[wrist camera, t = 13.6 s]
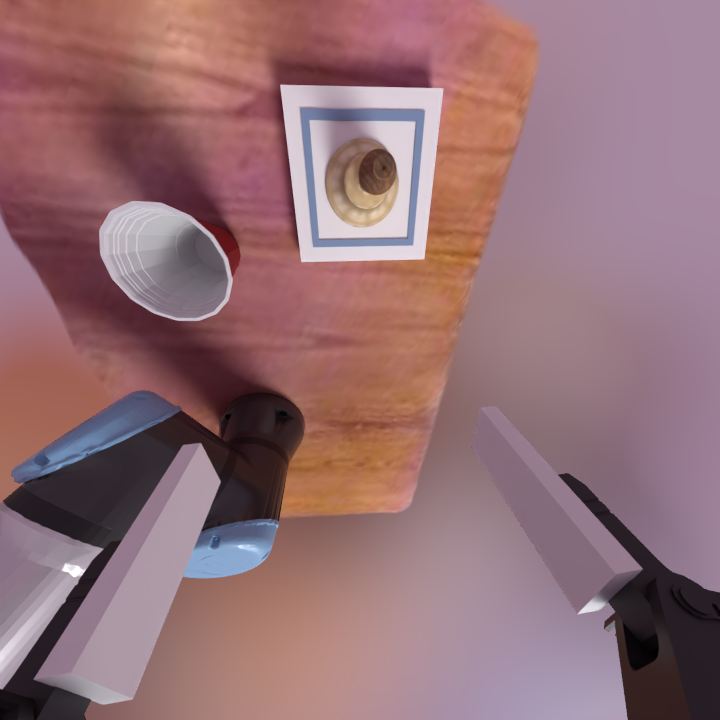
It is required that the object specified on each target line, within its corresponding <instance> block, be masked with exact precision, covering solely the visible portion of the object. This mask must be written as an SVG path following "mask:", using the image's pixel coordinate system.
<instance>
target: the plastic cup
mask: <svg viewBox="0 0 720 720" xmlns="http://www.w3.org/2000/svg"><path fill="white" fill-rule="evenodd" d="M99 239H100V255H101V257H102V259H103V262H104V264H105V266H106V268H107V270H108V272H109V274H110V276H111V278H112V279H113V281H114V282H115V283H116V284H117V285H118V286H119V287H120V288H121V289H122V290H123V291H124V292H125V293H126V294H127V296H128V297H129V298H130V299H131V300H133V301H135V302H136V303H138V304H139V305H141V306H143V307H144V308H146V309H147V310H149V311H151V312H152V313H154V314H157V315H160V316H164V317H167V318H170V319H173V320H176V321H200V320H202V319H205V318H207V317H210V316H212V315H215V314H217V313H218V312H219V311H220V310H221V308H222V307H223V306H224V305H225V304H226V303H227V302H228V300H229V296H230V292H231V287H232V283H233V279H232V277H233V275H234V273H235V271H236V268H237V267H238V265H239V261H240V250H239V246H238V244H237V243H236V241H235V239H234V238H233V237H232V236H231V235H230V234H229V233H228V232H227V231H226V230H224V229H222V228H219V227H217V226H215V225H212V224H209V223H207V222H205V221H201V220H198V219H194V218H193V217H192V216H190V215H188V214H186V213H184V212H181V211H179V210H177V209H174V208H172V207H170V206H168V205H165V204H163V203H160V202H143V201H131V202H129V203H127V204H125V205H122V206H120V207H118V208H116V209H114V210H111V211H110V212H109V214H108V216H107V218H106V219H105V221H104V223H103V225H102V226H101V228H100V230H99Z"/></svg>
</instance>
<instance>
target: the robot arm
mask: <svg viewBox="0 0 720 720" xmlns="http://www.w3.org/2000/svg"><path fill="white" fill-rule="evenodd" d="M181 409H182V408H181V407H179V406H175V405H173V404H171V403H170V402H168V401H167V400H165V399H164V398H162V397H160V396H159V395H157V394H156V393H154V392H151V391H136V392H132V393H130V394H128V395H126V396H125V397H123V398H121V399H119V400H118V401H116V402H115V403H113V404H111V405H110V406H108V407H107V408H105V409H103V410H102V411H100V412H99V413H97V414H96V415H94V416H92V417H91V418H89V419H88V420H86V421H85V422H83V423H81V424H80V425H78V426H77V427H75V428H74V429H72V430H70V431H69V432H67V433H66V434H64V435H63V436H61V437H60V438H58V439H57V440H55V441H54V442H52V443H51V444H49V445H48V446H46V447H45V448H43V449H42V450H40V451H39V452H37V453H36V454H34V455H33V456H31V457H30V458H28V459H26V460H25V461H23V462H22V463H21V464H19V465H18V466H16V467H15V468H14V469H13V470H12V471H11V476H12V477H13V478H14V482H17V483H22V482H24V483H23V484H22V485H21V486H20V487H19V488H18V489H17V490H15V491H14V492H13V493H12V494H11V495H9V496H8V497H7V498H6V499H5V500H3V501H2V502H1V503H0V720H86V718H85V715H84V713H85V711H86V709H87V707H88V705H89V703H90V701H91V700H92V701H95V702H97V703H100V704H103V705H105V704H110V703H115V702H120V701H126V700H131V699H133V698H134V695H135V693H136V690H137V688H138V685H139V683H140V680H141V678H142V675H143V673H144V671H145V668H146V666H147V663H148V661H149V658H150V656H151V653H152V651H153V648H154V646H155V643H156V641H157V638H158V636H159V633H160V631H161V629H162V626H163V624H164V621H165V618H166V616H167V614H168V611H169V608H170V606H171V604H172V601H173V599H174V596H175V594H176V591H177V589H178V586H179V584H180V581H181V579H182V577H191V578H217V577H225V576H231V575H235V574H239V573H242V572H245V571H248V570H250V569H252V568H254V567H256V566H258V565H259V564H260V563H262V562H263V561H264V560H265V559H266V558H267V556H268V555H269V553H270V551H271V548H272V545H273V541H274V537H275V533H276V529H277V528H278V524H279V517H280V511H281V505H282V499H283V493H284V488H285V482H286V476H287V470H288V465H289V462H290V460H291V459H292V457H293V455H294V454H295V452H296V450H297V449H298V447H299V445H300V444H301V442H302V439H303V435H304V428H305V422H304V418H303V416H302V414H301V412H300V411H299V410H298V408H297V407H296V406H294V405H293V404H292V403H291V402H289V401H287V400H285V399H283V398H281V397H278V396H275V395H271V394H262V393H258V394H249V395H245V396H242V397H240V398H238V399H236V400H235V401H233V402H232V403H231V404H230V405H229V406H228V407H227V409H226V411H225V412H224V414H223V416H222V418H221V421H220V425H219V437H218V436H217V435H215V434H214V433H212V432H211V431H210V430H208V429H207V428H205V427H204V426H203V425H201V424H200V423H199V422H197V421H196V420H194V419H193V418H192V417H190V416H189V415H187V414H186V413H185V412H183V411H182V410H181ZM472 449H473V451H474V452H475V454H476V455H477V457H478V459H479V460H480V462H481V463H482V465H483V467H484V468H485V470H486V471H487V473H488V474H489V476H490V478H491V479H492V481H493V482H494V484H495V485H496V487H497V488H498V490H499V492H500V493H501V495H502V496H503V498H504V500H505V501H506V503H507V504H508V506H509V507H510V509H511V511H512V512H513V514H514V515H515V517H516V518H517V520H518V522H519V523H520V525H521V526H522V528H523V529H524V531H525V533H526V534H527V536H528V537H529V539H530V540H531V542H532V543H533V545H534V547H535V548H536V550H537V552H538V553H539V555H540V556H541V558H542V559H543V561H544V563H545V564H546V566H547V567H548V569H549V570H550V572H551V574H552V575H553V577H554V578H555V580H556V581H557V583H558V584H559V586H560V588H561V589H562V591H563V593H564V594H565V596H566V597H567V599H568V600H569V602H570V603H571V605H572V607H573V608H574V610H575V611H576V613H577V614H581V613H586V612H591V611H597V610H600V609H601V608H602V607H603V606H605V605H606V604H607V603H608V602H609V604H610V605H611V606H612V608H613V609H614V610H615V613H614V614H613V615H612V616H610V617H609V618H608V619H607V620H606V621H605V625H604V630H606V631H608V632H609V631H610V630H611V629H613V628H614V627H615V629H616V634H615V636H616V637H617V643H618V651H619V658H620V665H621V673H622V679H623V687H624V695H625V702H626V709H627V717H628V720H720V593H719V592H714V591H709V590H706V589H704V588H702V587H701V586H700V585H699V584H697V583H695V582H693V581H692V580H690V579H688V578H686V577H685V576H682V575H679V574H676V573H673V572H672V571H670V570H669V569H668V568H666V567H665V566H664V565H663V564H662V563H661V562H660V561H659V560H658V559H657V558H656V557H655V556H654V555H653V554H652V553H651V552H650V551H649V550H648V549H647V548H646V547H645V546H644V545H643V544H642V543H641V542H640V541H639V540H638V539H637V538H636V537H635V536H634V535H633V534H632V533H631V532H630V531H629V530H628V529H627V528H626V527H625V526H624V525H623V523H621V521H620V520H619V519H618V518H617V517H616V516H615V515H614V514H611V513H610V510H609V509H608V508H607V507H606V506H605V505H604V504H603V503H602V502H600V501H599V500H598V498H597V497H596V496H595V495H594V494H593V493H592V492H591V491H590V490H589V488H588V487H587V486H585V484H583V483H582V482H580V481H579V480H577V479H576V478H574V477H573V476H571V475H570V474H568V473H566V474H560V475H557V473H556V472H555V471H554V470H553V469H552V468H551V467H550V466H549V465H548V464H547V463H546V461H545V460H544V459H543V458H542V457H541V456H540V455H539V454H538V452H537V451H536V450H535V449H534V448H533V447H532V446H531V445H530V444H529V443H528V442H527V440H526V439H525V438H524V437H523V436H522V435H521V434H520V433H519V432H518V430H516V428H515V427H514V426H513V425H512V424H511V423H510V422H509V420H508V419H507V418H506V417H505V416H504V415H503V414H502V413H501V412H500V410H499V409H498V408H497V407H496V406H492V407H484V408H480V412H479V417H478V421H477V425H476V430H475V434H474V439H473V443H472Z"/></svg>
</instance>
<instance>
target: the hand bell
mask: <svg viewBox="0 0 720 720" xmlns="http://www.w3.org/2000/svg"><path fill="white" fill-rule="evenodd" d="M398 186H399V179H398V172H397V167H396V162H395V160H394V158H393V156H392V155H391V154H390V153H389V152H388V151H387V150H386V149H385V148H384V147H383V146H382V145H381V144H379V143H378V142H376V141H374V140H371V139H367V138H357V139H353V140H350V141H348V142H346V143H344V144H343V145H342V146H341V147H339V148H338V149H337V151H336V152H335V153H334V155H333V156H332V158H331V160H330V162H329V164H328V168H327V171H326V179H325V187H326V193H327V198H328V201H329V203H330V206H331V208H332V209H333V211H334V212H335V214H336V215H337V216H338V217H339V218H340V219H341V220H343V221H344V222H345V223H347V224H349V225H352V226H354V227H369V226H373V225H375V224H377V223H379V222H380V221H382V220H383V219H384V218H385V217H386V216H387V215H388V213H389V212H390V211H391V209H392V208H393V206H394V203H395V201H396V198H397V194H398Z"/></svg>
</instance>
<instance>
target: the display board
mask: <svg viewBox="0 0 720 720" xmlns="http://www.w3.org/2000/svg"><path fill="white" fill-rule="evenodd" d="M280 87H281V96H282V104H283V113H284V121H285V129H286V138H287V146H288V155H289V163H290V171H291V180H292V188H293V197H294V205H295V213H296V222H297V230H298V239H299V247H300V255H301V262H322V261H366V260H410V259H424V257H425V248H426V239H427V230H428V221H429V212H430V203H431V194H432V185H433V176H434V167H435V158H436V150H437V141H438V132H439V123H440V114H441V105H442V96H443V88H403V87H358V86H313V85H280ZM357 138H367V139H371V140H374V141H376V142H378V143H379V144H381V145H382V146H383V147H384V148H385V149H386V150H387V151H388V152H389V153H390V154H391V155H392V156H393V158H394V160H395V162H396V167H397V172H398V179H399V186H398V194H397V198H396V201H395V203H394V206H393V208H392V209H391V211H390V212H389V213H388V215H387V216H386V217H385V218H384V219H383V220H382V221H380V222H379V223H377V224H375V225H373V226H369V227H354V226H352V225H349V224H347V223H345V222H344V221H343V220H341V219H340V218H339V217H338V216H337V215H336V214H335V212H334V211H333V209H332V208H331V206H330V203H329V201H328V198H327V193H326V187H325V179H326V171H327V168H328V164H329V162H330V160H331V158H332V156H333V155H334V153H335V152H336V151H337V149H338V148H339V147H341V146H342V145H343V144H344V143H346V142H348V141H350V140H353V139H357Z"/></svg>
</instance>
